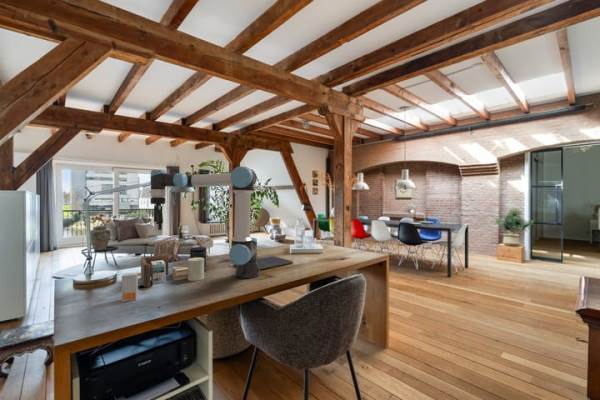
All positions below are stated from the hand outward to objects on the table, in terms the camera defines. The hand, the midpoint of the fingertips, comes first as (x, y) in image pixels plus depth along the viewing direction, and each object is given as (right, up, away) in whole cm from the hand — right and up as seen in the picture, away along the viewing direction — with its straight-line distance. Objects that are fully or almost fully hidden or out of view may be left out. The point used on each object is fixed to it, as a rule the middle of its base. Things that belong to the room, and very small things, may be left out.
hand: (158, 234), depth 160 cm
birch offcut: (+10, -24, +8) cm, 27 cm away
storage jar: (+16, -27, +20) cm, 37 cm away
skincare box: (+2, -27, -29) cm, 40 cm away
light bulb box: (0, -27, 0) cm, 27 cm away
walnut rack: (-1, -27, +1) cm, 27 cm away
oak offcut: (+9, -27, +8) cm, 30 cm away
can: (+20, -27, +4) cm, 34 cm away
